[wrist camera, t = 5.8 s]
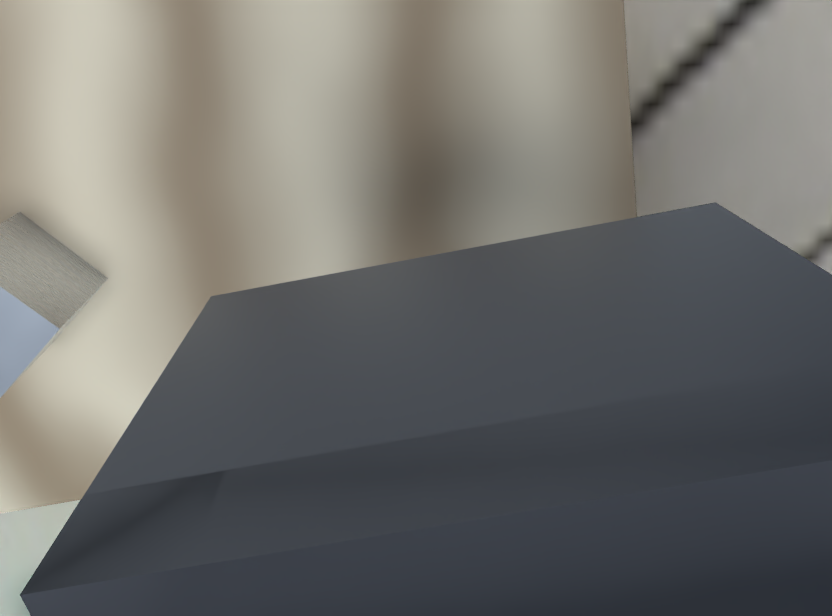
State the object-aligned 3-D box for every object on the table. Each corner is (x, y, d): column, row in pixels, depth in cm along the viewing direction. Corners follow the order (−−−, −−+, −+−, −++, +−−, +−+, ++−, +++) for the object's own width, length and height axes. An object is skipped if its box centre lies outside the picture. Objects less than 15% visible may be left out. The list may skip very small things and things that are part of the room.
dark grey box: (715, 202, 9) (1096, 440, 4) (724, 592, 11) (965, 1027, 6) (210, 296, 9) (5, 619, 4) (327, 655, 12) (278, 1113, 7)
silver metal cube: (20, 211, 21) (-48, 252, 17) (108, 278, 21) (59, 329, 18) (-36, 281, 21) (-110, 333, 18) (52, 343, 22) (-4, 402, 19)
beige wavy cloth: (597, -144, 19) (614, -155, 17) (633, 376, 25) (647, 398, 24) (-263, 36, 20) (-311, 41, 18) (-15, 492, 26) (-37, 520, 25)
